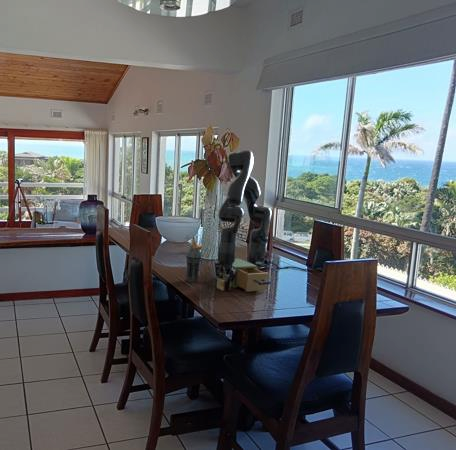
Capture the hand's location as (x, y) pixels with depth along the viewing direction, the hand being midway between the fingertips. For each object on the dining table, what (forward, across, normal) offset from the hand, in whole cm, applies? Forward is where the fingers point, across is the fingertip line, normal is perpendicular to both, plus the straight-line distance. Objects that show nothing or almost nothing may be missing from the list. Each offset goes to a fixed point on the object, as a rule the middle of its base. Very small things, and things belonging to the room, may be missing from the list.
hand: (223, 288), depth 205 cm
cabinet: (0, +8, -12) cm, 14 cm away
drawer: (-1, -4, -12) cm, 13 cm away
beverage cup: (0, +14, +8) cm, 16 cm away
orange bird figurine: (0, +65, -27) cm, 70 cm away
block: (0, 0, 0) cm, 0 cm away
